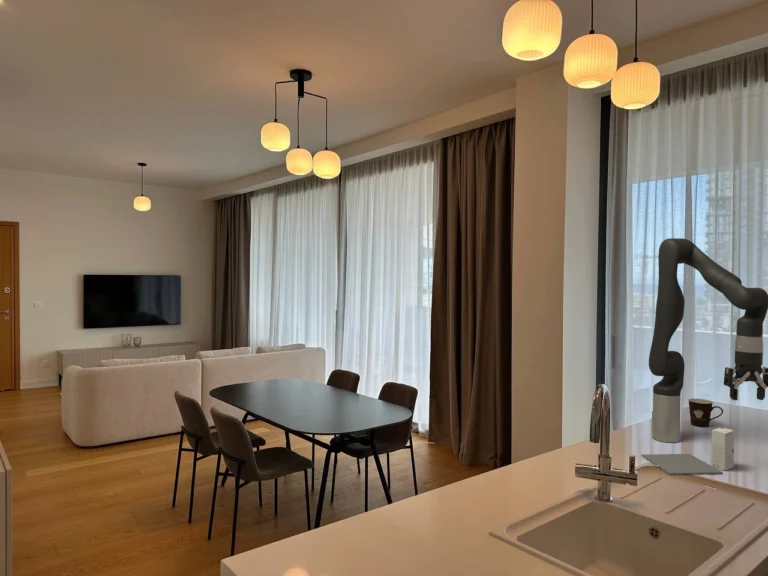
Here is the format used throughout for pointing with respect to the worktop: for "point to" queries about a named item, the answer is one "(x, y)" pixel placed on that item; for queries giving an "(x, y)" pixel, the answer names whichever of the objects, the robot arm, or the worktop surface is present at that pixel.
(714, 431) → the skincare box
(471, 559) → the worktop surface
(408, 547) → the worktop surface
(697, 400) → the coffee mug
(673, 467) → the mat
